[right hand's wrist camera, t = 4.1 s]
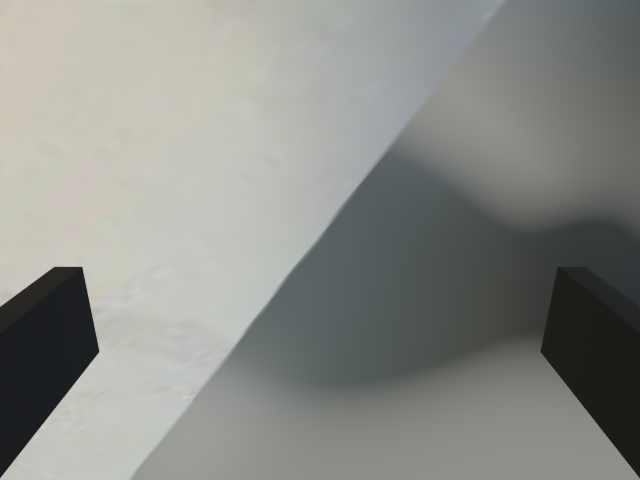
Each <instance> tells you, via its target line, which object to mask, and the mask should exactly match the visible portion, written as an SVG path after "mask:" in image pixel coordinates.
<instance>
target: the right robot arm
mask: <svg viewBox="0 0 640 480" xmlns="http://www.w3.org/2000/svg"><path fill="white" fill-rule="evenodd" d="M98 353H99V347H98V342H97V337H96V332H95V328H94V323H93V318H92V313H91V308H90V303H89V298H88V293H87V288H86V283H85V278H84V273H83V268H82V267H54V268H52V269H51V270H50V271H48V272H47V273H46V274H44V275H43V276H41V277H40V278H39V279H37V280H36V281H35V282H33V283H32V284H31V285H29V286H28V287H27V288H25V289H24V290H23V291H21V292H20V293H18V294H17V295H16V296H14V297H13V298H12V299H10V300H9V301H8V302H6V303H5V304H4V305H2V306H1V307H0V478H1V476H2V475H3V474H4V473H5V471H6V470H7V469H8V467H9V466H10V465H11V464H12V462H13V461H14V460H15V459H16V457H17V456H18V455H19V453H20V452H21V451H22V450H23V448H24V447H25V446H26V445H27V443H28V442H29V441H30V439H31V438H32V437H33V436H34V434H35V433H36V432H37V431H38V429H39V428H40V427H41V425H42V424H43V423H44V422H45V420H46V419H47V418H48V417H49V415H50V414H51V413H52V411H53V410H54V409H55V408H56V406H57V405H58V404H59V403H60V401H61V400H62V399H63V397H64V396H65V395H66V394H67V392H68V391H69V390H70V389H71V387H72V386H73V385H74V383H75V382H76V381H77V380H78V378H79V377H80V376H81V375H82V373H83V372H84V371H85V369H86V368H87V367H88V366H89V364H90V363H91V362H92V361H93V359H94V358H95V357H96V355H97V354H98ZM541 353H542V354H543V355H544V357H545V358H546V359H547V361H548V362H549V363H550V364H551V366H552V367H553V368H554V369H555V371H556V372H557V373H558V375H559V376H560V377H561V378H562V380H563V381H564V382H565V383H566V385H567V386H568V387H569V389H570V390H571V391H572V392H573V394H574V395H575V396H576V397H577V399H578V400H579V401H580V402H581V404H582V405H583V406H584V408H585V409H586V410H587V411H588V413H589V414H590V415H591V417H592V418H593V419H594V420H595V422H596V423H597V424H598V425H599V427H600V428H601V429H602V431H603V432H604V433H605V434H606V436H607V437H608V438H609V439H610V441H611V442H612V443H613V445H614V446H615V447H616V448H617V450H618V451H619V452H620V453H621V455H622V456H623V457H624V459H625V460H626V461H627V462H628V464H629V465H630V466H631V467H632V469H633V470H634V471H635V473H636V474H637V475H638V476H639V478H640V307H639V306H638V305H636V304H635V303H634V302H632V301H631V300H630V299H628V298H627V297H626V296H624V295H623V294H622V293H620V292H619V291H617V290H616V289H615V288H613V287H612V286H611V285H609V284H608V283H607V282H605V281H604V280H603V279H601V278H600V277H599V276H597V275H596V274H594V273H593V272H592V271H590V270H589V269H588V268H586V267H558V268H557V273H556V278H555V283H554V288H553V293H552V298H551V303H550V308H549V313H548V318H547V323H546V328H545V332H544V338H543V342H542V347H541Z"/></svg>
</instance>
